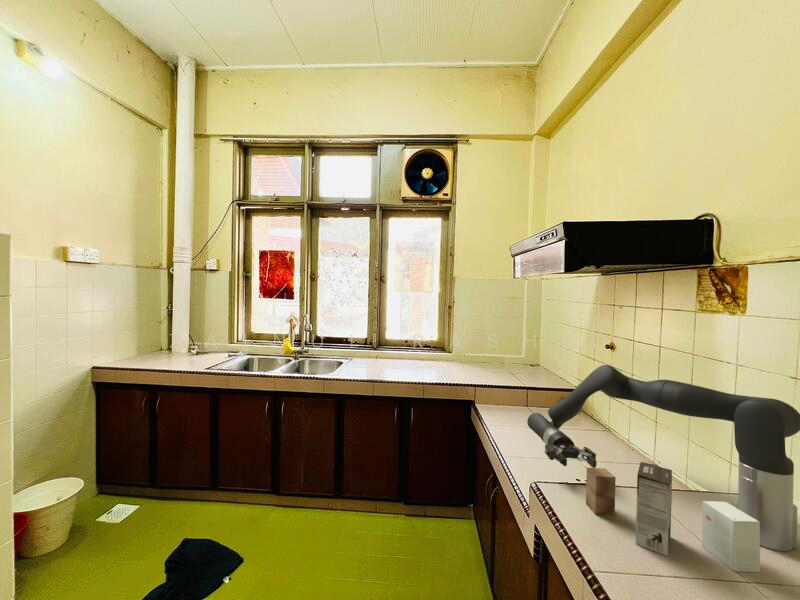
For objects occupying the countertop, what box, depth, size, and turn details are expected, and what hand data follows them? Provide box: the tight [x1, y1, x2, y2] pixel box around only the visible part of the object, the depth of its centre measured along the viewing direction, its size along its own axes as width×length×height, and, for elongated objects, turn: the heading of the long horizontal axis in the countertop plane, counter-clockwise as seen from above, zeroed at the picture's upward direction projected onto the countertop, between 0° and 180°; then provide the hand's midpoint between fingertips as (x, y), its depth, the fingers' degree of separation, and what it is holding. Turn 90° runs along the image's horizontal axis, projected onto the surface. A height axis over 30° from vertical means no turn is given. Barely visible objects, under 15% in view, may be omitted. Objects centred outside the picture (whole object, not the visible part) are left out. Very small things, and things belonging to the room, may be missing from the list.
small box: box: [701, 500, 761, 573], centre depth 78 cm, size 8×6×10 cm
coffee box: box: [635, 461, 673, 557], centre depth 83 cm, size 9×6×16 cm
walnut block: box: [585, 467, 617, 517], centre depth 95 cm, size 5×5×10 cm
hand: (580, 463), depth 107 cm, fingers open, 8 cm apart
